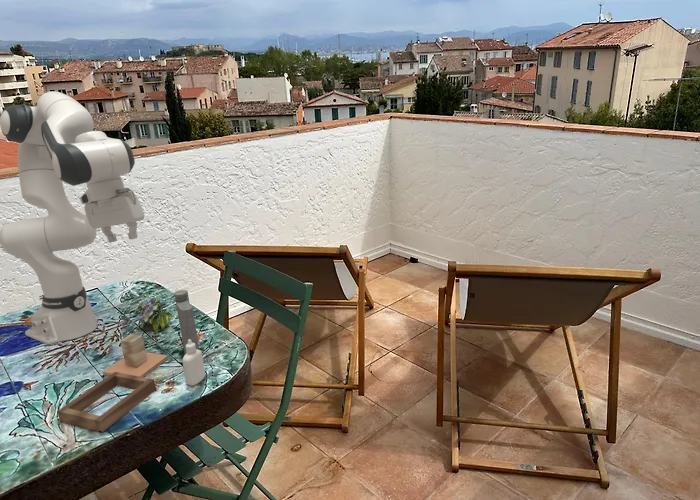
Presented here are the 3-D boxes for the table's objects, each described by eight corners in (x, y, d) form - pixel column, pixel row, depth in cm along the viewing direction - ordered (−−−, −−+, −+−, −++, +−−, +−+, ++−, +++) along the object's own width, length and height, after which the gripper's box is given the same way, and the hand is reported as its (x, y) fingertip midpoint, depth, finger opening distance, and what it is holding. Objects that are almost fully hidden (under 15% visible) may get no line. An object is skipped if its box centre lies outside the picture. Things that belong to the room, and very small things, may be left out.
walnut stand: (60, 421, 107) (57, 410, 106) (117, 381, 122) (114, 371, 121) (102, 432, 103) (99, 421, 102) (156, 389, 118) (154, 379, 117)
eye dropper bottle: (182, 380, 121) (175, 340, 118) (203, 372, 125) (196, 333, 121) (188, 387, 118) (181, 346, 115) (209, 379, 122) (203, 339, 118)
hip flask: (202, 365, 129) (191, 300, 122) (187, 369, 127) (175, 303, 121) (195, 341, 142) (185, 281, 136) (181, 344, 141) (171, 284, 135)
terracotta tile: (103, 374, 126) (102, 371, 126) (135, 353, 137) (135, 350, 136) (137, 381, 122) (136, 378, 122) (168, 358, 133) (167, 355, 132)
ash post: (125, 366, 128) (120, 340, 125) (136, 358, 131) (131, 333, 129) (137, 368, 127) (131, 342, 124) (147, 360, 130) (142, 335, 128)
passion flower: (147, 341, 155) (133, 310, 156) (179, 327, 159) (165, 296, 161) (145, 336, 145) (130, 302, 146) (178, 321, 149) (163, 289, 151)
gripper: (141, 184, 123) (156, 233, 126) (96, 195, 134) (111, 240, 136) (120, 188, 118) (136, 239, 121) (76, 199, 128) (92, 246, 131)
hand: (123, 240), depth 129 cm, fingers open, 8 cm apart
